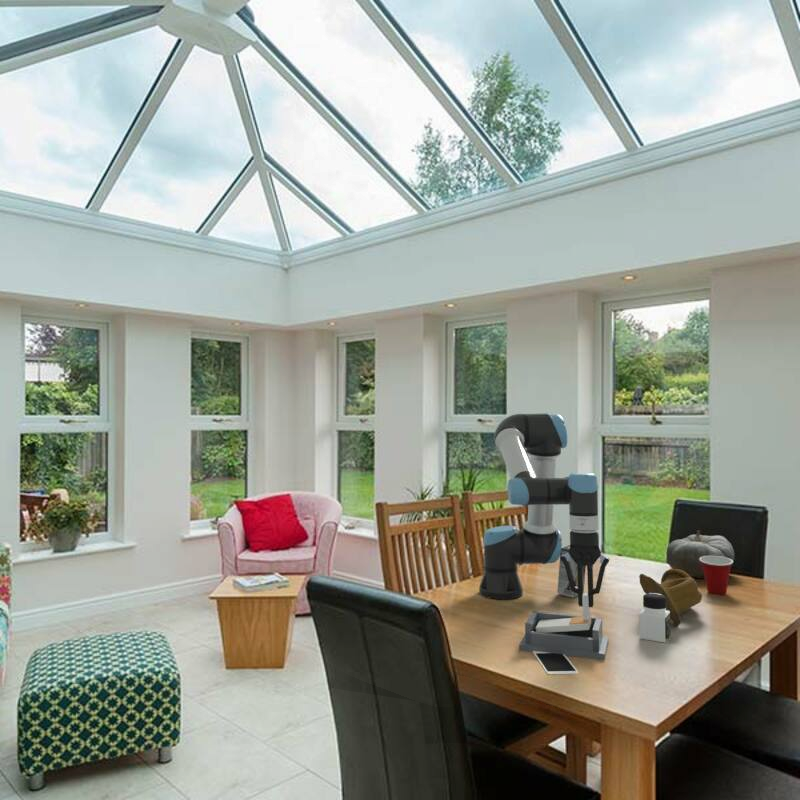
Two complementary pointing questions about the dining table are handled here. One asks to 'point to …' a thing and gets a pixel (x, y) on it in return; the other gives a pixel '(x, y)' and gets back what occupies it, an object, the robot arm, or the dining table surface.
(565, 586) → the coffee box
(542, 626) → the rocker
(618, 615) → the dining table surface
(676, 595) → the brown cowboy hat
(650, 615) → the medicine bottle
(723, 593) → the plastic cup
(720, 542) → the gourd
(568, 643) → the box
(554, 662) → the cell phone
